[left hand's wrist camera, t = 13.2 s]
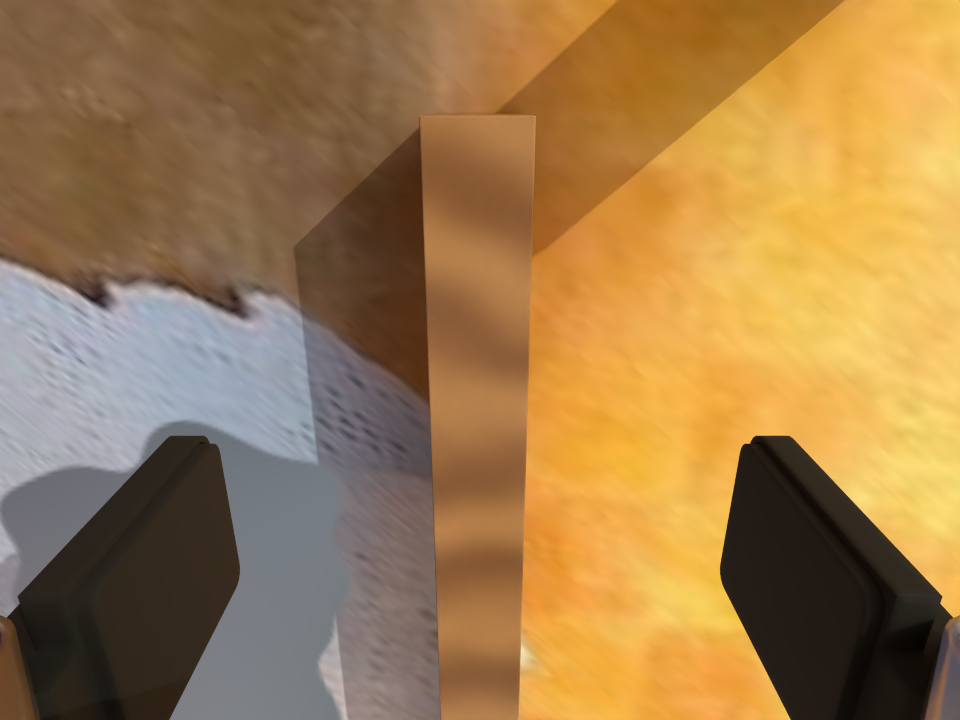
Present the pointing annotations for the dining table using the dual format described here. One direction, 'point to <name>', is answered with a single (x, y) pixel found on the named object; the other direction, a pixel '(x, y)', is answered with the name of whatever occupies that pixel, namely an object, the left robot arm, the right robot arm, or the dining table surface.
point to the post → (478, 396)
